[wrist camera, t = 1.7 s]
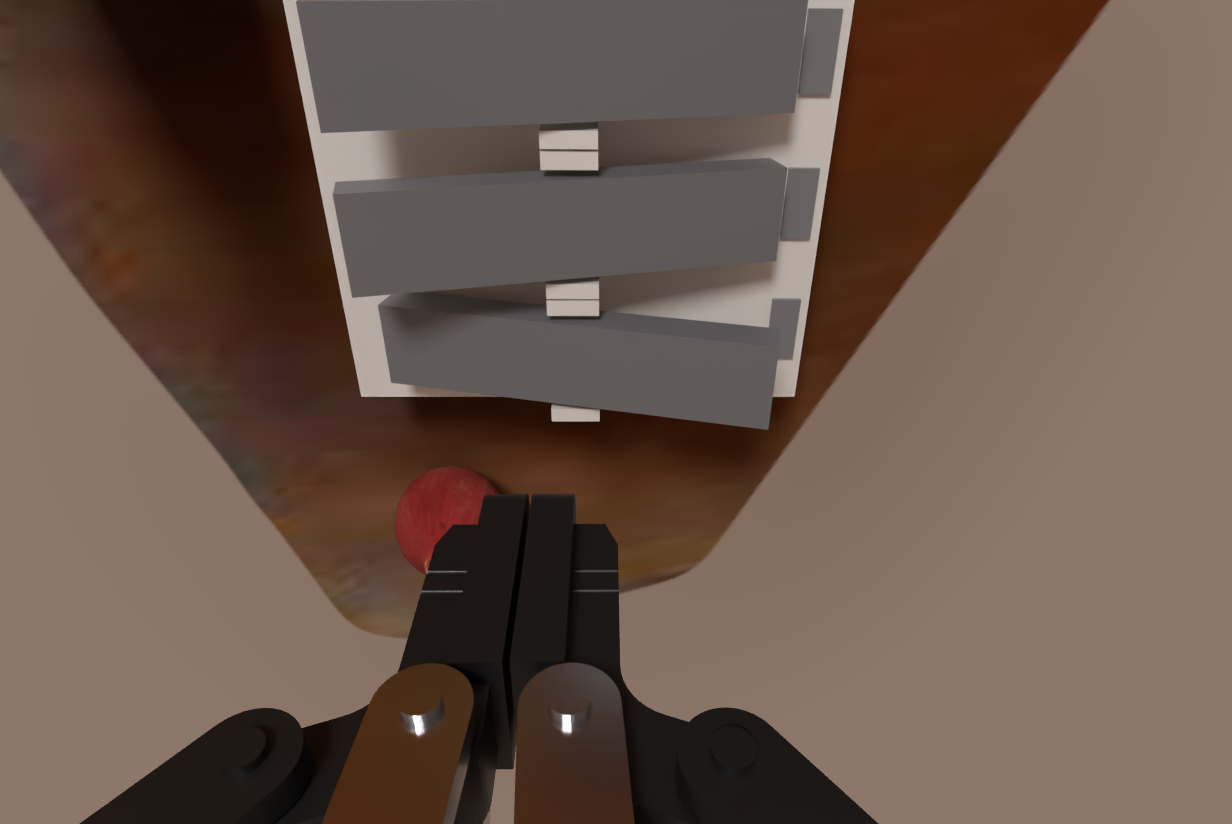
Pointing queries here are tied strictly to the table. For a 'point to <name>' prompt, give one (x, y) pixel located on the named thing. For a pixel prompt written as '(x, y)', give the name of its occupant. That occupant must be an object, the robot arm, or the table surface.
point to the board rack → (684, 294)
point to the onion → (437, 509)
